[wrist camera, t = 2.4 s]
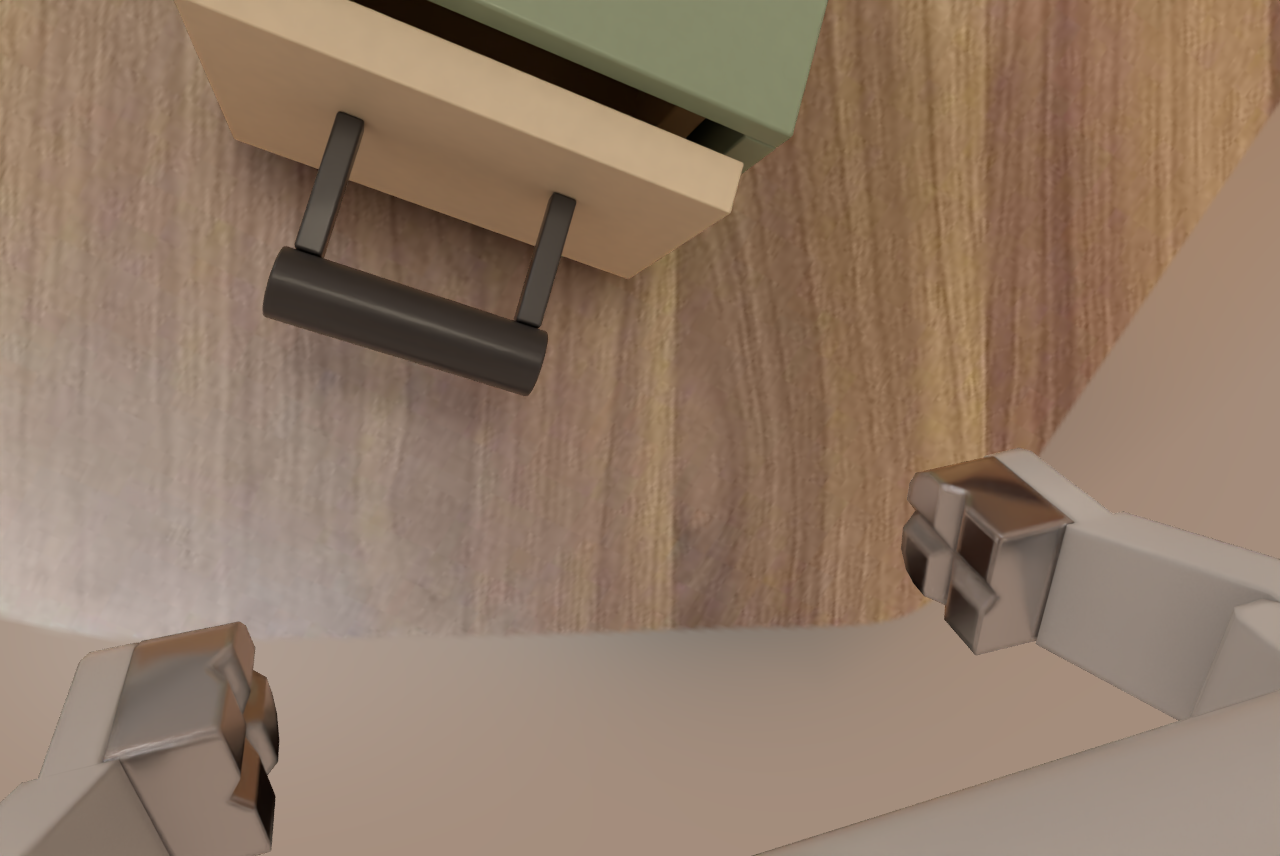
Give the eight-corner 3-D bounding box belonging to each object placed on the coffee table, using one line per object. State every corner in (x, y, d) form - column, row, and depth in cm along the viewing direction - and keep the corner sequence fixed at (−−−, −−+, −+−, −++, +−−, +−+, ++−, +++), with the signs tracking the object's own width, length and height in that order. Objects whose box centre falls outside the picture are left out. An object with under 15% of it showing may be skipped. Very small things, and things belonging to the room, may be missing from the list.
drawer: (586, 432, 26) (674, 426, 18) (176, 310, 23) (82, 242, 15) (732, -92, 28) (866, -290, 20) (371, -273, 24) (372, -589, 17)
